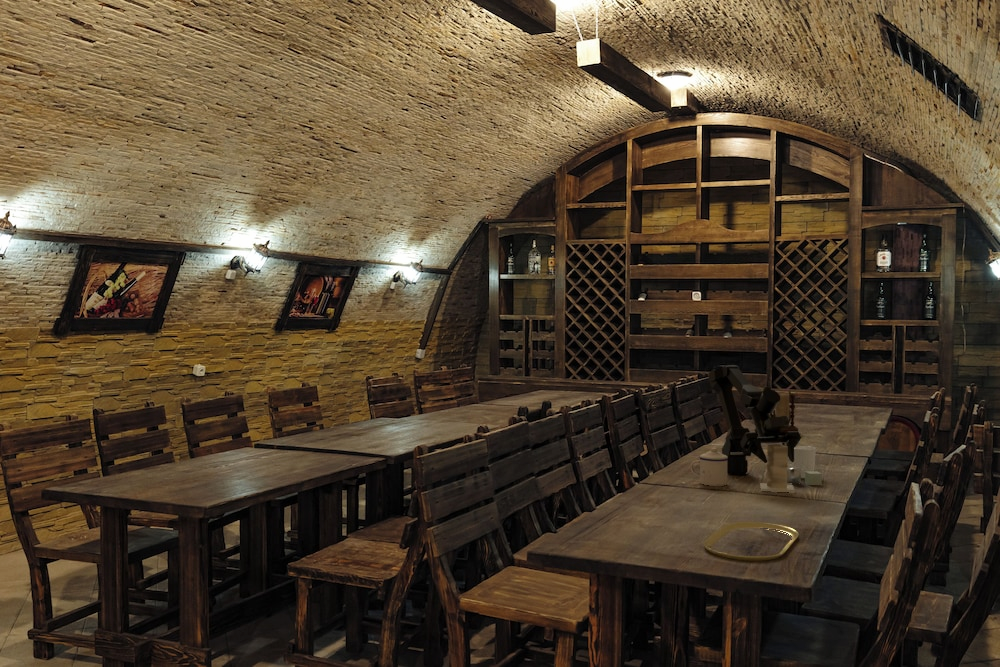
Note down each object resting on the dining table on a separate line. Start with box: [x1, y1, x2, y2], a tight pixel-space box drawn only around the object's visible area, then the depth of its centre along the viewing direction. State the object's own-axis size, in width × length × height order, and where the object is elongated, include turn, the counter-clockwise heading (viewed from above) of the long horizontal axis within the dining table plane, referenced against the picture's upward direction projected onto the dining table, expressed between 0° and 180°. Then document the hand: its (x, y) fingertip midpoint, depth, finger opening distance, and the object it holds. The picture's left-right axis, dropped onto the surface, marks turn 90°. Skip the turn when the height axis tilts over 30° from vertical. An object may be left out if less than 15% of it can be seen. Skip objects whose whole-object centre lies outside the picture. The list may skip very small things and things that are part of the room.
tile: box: [759, 482, 796, 494], centre depth 288 cm, size 10×9×1 cm
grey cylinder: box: [787, 466, 802, 485], centre depth 299 cm, size 4×4×5 cm
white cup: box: [791, 445, 817, 479], centre depth 310 cm, size 8×8×10 cm
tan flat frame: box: [703, 521, 800, 562], centre depth 223 cm, size 19×35×2 cm, turn 152°
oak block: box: [766, 443, 789, 488], centre depth 288 cm, size 4×4×13 cm
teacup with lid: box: [690, 447, 728, 487], centre depth 297 cm, size 12×9×12 cm
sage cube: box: [804, 470, 823, 486], centre depth 297 cm, size 4×4×4 cm
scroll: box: [769, 389, 799, 434], centre depth 416 cm, size 15×15×20 cm
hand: (779, 461), depth 287 cm, fingers open, 9 cm apart
